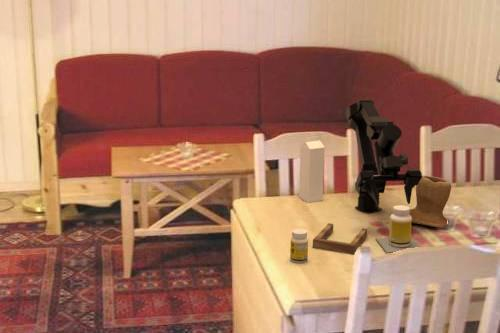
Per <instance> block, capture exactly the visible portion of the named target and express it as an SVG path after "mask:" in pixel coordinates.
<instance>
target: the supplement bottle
mask: <svg viewBox="0 0 500 333" xmlns="http://www.w3.org/2000/svg"><path fill="white" fill-rule="evenodd" d="M291 235H292V236H291V237H290V256H289V258H290V261H291V262H293V263H296V264H302V263H303V264H304V263H306V262H308V252H309V251H308V250H309V238H308V231H307V230H306V229H303V228H294V229H292V232H291Z"/></svg>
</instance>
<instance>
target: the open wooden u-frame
mask: <svg viewBox="0 0 500 333" xmlns="http://www.w3.org/2000/svg"><path fill="white" fill-rule="evenodd" d="M333 232H334V223H329V222H328V223H327V224H326V225H325V227H323V228H322V229H321V230H320V231H319V232H318V234H317V235H316V236H315V237H313V239H312V248H313V249H318V250H324V251H330V252H335V253H337V252H338V253H342V254H343V253H344V254H348V255H349V254H350V255H354V254H355V253H356V252H357V250H358V249H359V248H360V247H361V245H362V244H363V243H364V242H365V240H366V239H367V238H368V228H365V227H364V228H363V227H362V228H361V230H360V231H359V232H358V233H357V234H356V235H355V236H354V238H353V239H352V240H351V242H345V241H344V242H343V241H337V240H330V239H328V238H329V237H330V236H331V235H332V234H333ZM359 246H360V247H359ZM358 247H359V248H358ZM357 248H358V249H357ZM356 249H357V250H356ZM355 251H356V252H355ZM354 252H355V253H354Z"/></svg>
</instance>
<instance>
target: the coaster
mask: <svg viewBox="0 0 500 333" xmlns="http://www.w3.org/2000/svg"><path fill="white" fill-rule="evenodd" d="M375 241H376V243H377V244H378V245H379V246H380V248H381V249H382V250H383V251H384V253H385V254H386V255H388V254H387V253H393V252H396V251H399V250H403V249H406V248H415V247H422V246H421V245H420V244H419V243H418V242H417V240H416V239H414V237H413V236H411V243H410V245H409V246H407V247H394V246H392V245H390V244H389V237H376V238H375Z"/></svg>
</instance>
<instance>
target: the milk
mask: <svg viewBox="0 0 500 333" xmlns="http://www.w3.org/2000/svg"><path fill="white" fill-rule="evenodd" d="M299 148H300V150H299V182H298V183H299V184H298V186H299V187H298V199H300V200H301V201H304V202H306V203H307V204H310V202H311V203H315V202H320V201H321V200H322V201H323V199H324V179H325V178H324V174H325V150H326V149H325V148H326V147H325V145H324V144H323V143H322V141H321V136H319V135H317V136H310V137H309V136H308V137H305V139H304V142H303V143H301V145H300V147H299Z"/></svg>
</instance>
